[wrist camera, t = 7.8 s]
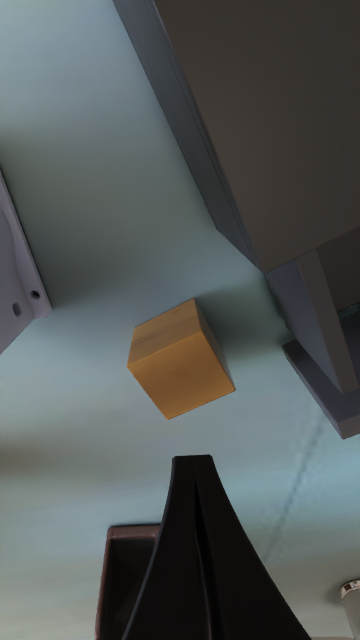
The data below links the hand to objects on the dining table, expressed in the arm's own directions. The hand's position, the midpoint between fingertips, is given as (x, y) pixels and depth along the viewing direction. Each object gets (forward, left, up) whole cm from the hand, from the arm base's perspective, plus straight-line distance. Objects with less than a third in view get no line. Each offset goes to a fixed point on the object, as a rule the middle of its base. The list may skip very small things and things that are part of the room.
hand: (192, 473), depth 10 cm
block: (0, 0, -10) cm, 10 cm away
